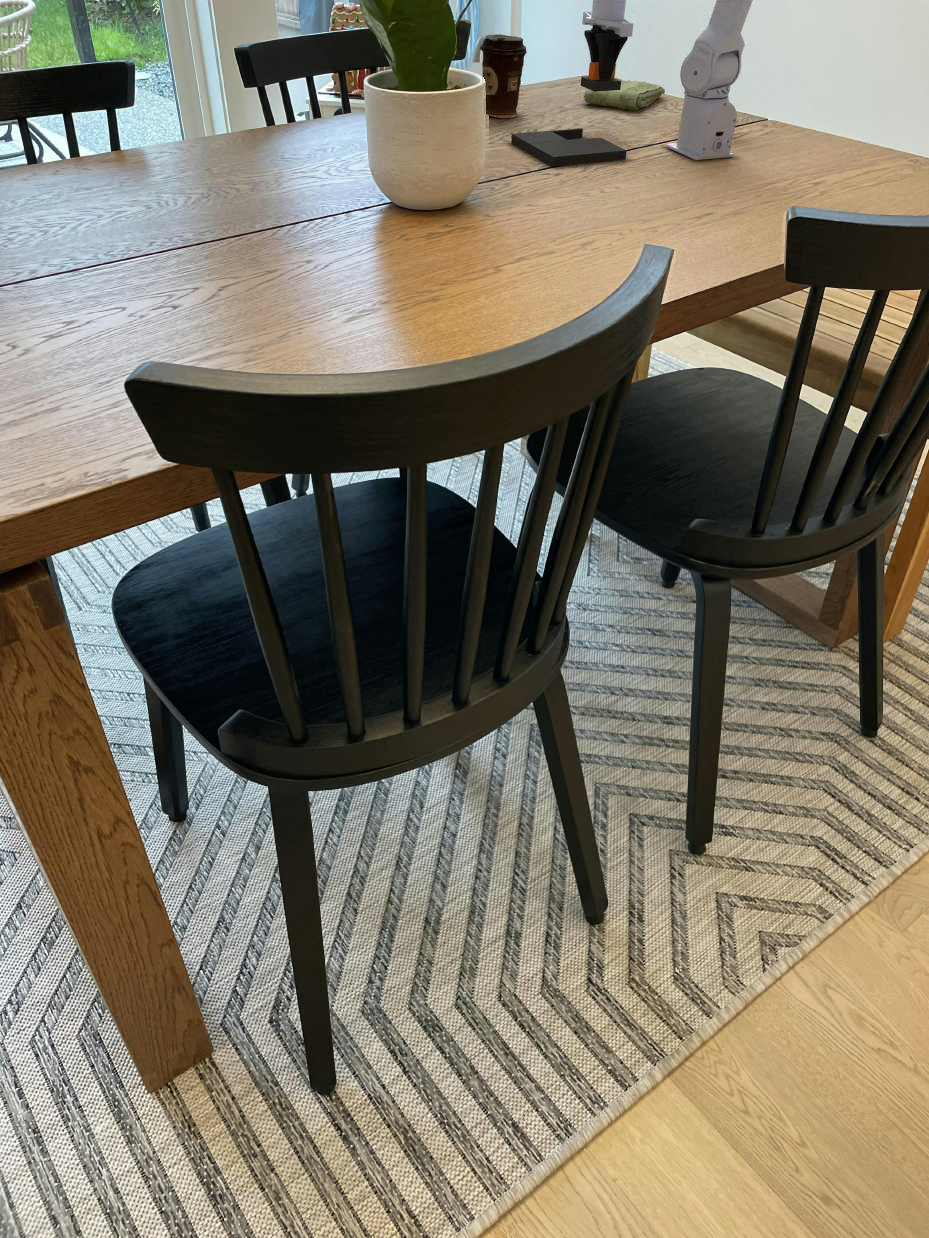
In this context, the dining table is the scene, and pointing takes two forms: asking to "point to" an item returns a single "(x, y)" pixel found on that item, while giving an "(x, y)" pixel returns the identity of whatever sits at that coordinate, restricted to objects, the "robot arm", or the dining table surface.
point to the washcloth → (626, 95)
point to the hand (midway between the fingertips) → (601, 77)
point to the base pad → (567, 147)
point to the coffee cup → (502, 73)
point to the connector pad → (599, 80)
